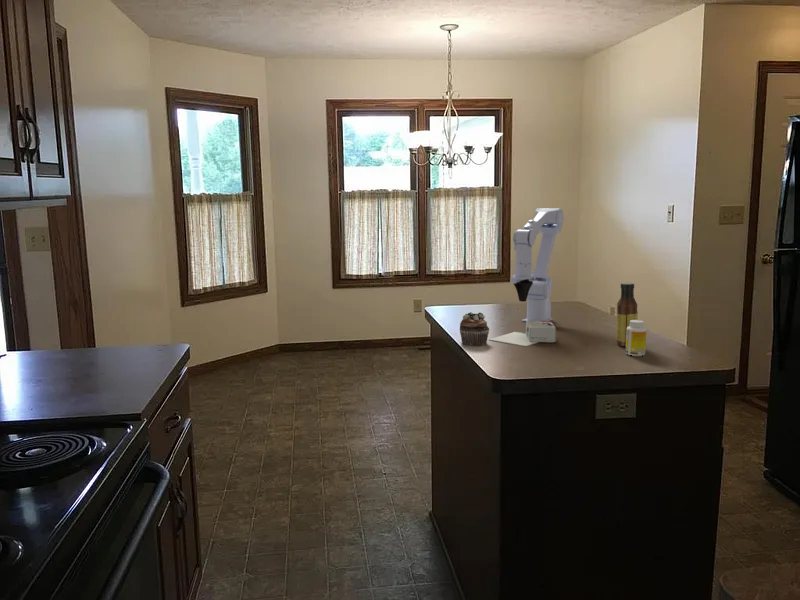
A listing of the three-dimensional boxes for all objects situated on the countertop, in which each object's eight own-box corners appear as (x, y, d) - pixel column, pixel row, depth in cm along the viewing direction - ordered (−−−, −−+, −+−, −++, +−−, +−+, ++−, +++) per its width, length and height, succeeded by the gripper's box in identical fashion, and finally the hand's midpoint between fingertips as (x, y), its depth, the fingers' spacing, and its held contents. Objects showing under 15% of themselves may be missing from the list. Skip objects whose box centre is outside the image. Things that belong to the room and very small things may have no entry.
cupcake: (455, 345, 206) (456, 314, 204) (463, 339, 215) (464, 309, 213) (485, 347, 203) (486, 316, 201) (492, 341, 212) (492, 311, 210)
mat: (515, 332, 225) (515, 331, 225) (551, 338, 216) (551, 337, 216) (488, 340, 213) (488, 339, 213) (525, 346, 204) (525, 345, 204)
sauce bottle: (637, 344, 206) (641, 282, 203) (636, 348, 201) (639, 284, 198) (616, 342, 209) (619, 281, 206) (613, 346, 204) (617, 283, 200)
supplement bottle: (649, 355, 192) (651, 321, 190) (635, 357, 189) (637, 323, 188) (634, 351, 197) (636, 318, 195) (621, 353, 194) (622, 320, 193)
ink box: (551, 320, 219) (557, 327, 208) (550, 334, 220) (556, 342, 208) (525, 320, 220) (529, 327, 208) (525, 334, 221) (529, 341, 209)
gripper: (523, 261, 238) (523, 297, 240) (503, 264, 227) (502, 302, 229) (541, 262, 233) (540, 299, 235) (520, 265, 222) (519, 304, 225)
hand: (522, 301), depth 232 cm, fingers closed
